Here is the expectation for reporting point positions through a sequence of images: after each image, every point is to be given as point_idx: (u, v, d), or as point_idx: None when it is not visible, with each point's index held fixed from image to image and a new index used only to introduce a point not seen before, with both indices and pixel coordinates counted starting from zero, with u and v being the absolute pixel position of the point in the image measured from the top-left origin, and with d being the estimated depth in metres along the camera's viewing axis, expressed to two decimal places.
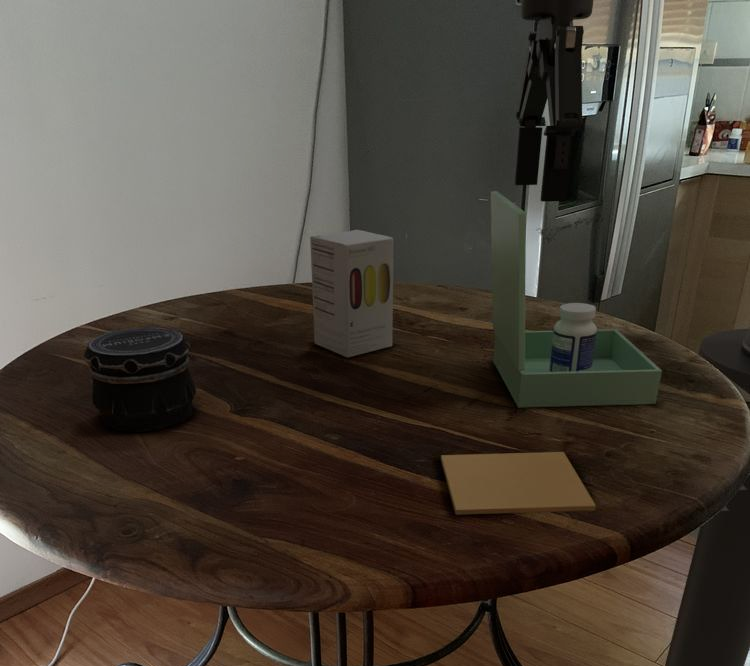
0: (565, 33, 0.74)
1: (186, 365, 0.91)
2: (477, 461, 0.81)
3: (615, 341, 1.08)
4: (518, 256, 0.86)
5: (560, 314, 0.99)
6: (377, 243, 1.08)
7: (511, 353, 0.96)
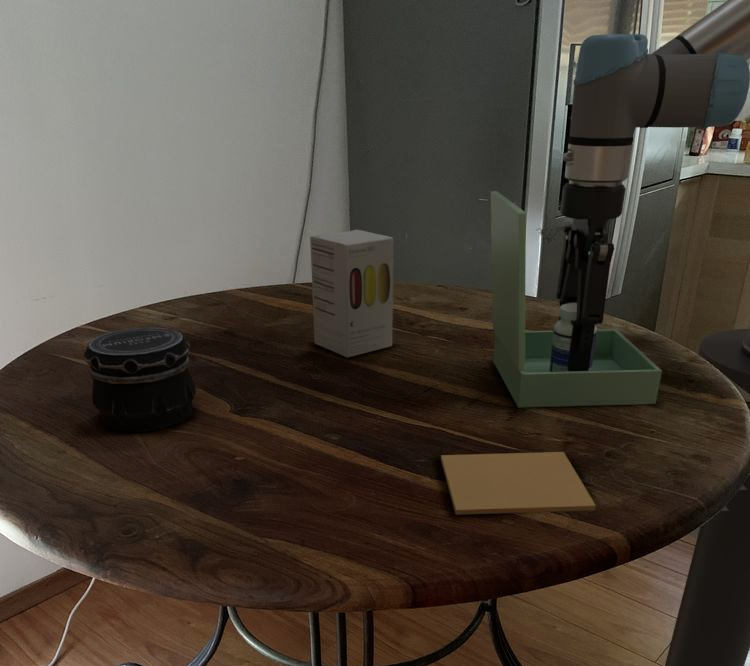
0: (598, 252, 0.88)
1: (186, 365, 0.91)
2: (477, 461, 0.81)
3: (615, 341, 1.08)
4: (518, 256, 0.86)
5: (560, 314, 0.99)
6: (377, 243, 1.08)
7: (511, 353, 0.96)
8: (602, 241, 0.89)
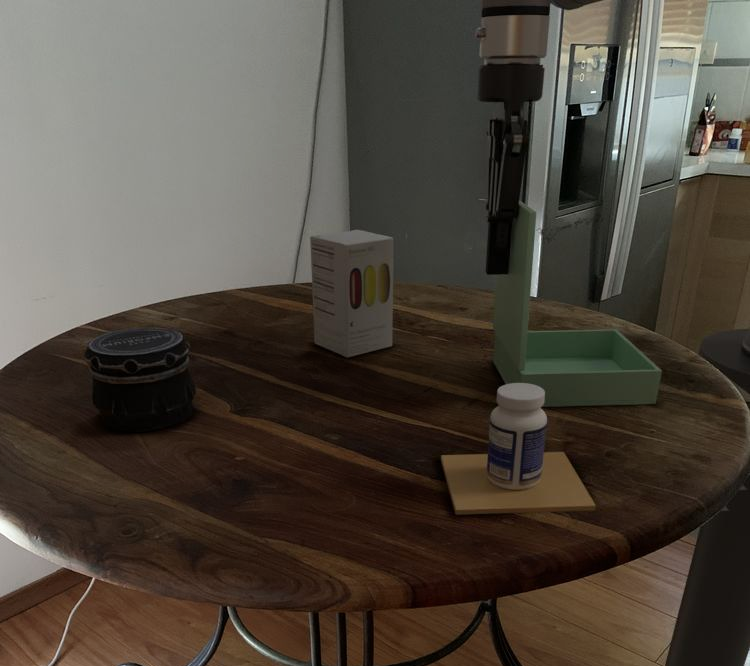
0: (512, 144, 0.82)
1: (186, 365, 0.91)
2: (477, 461, 0.81)
3: (615, 341, 1.08)
4: (526, 255, 0.86)
5: (497, 400, 0.73)
6: (377, 243, 1.08)
7: (511, 353, 0.96)
8: (517, 130, 0.83)
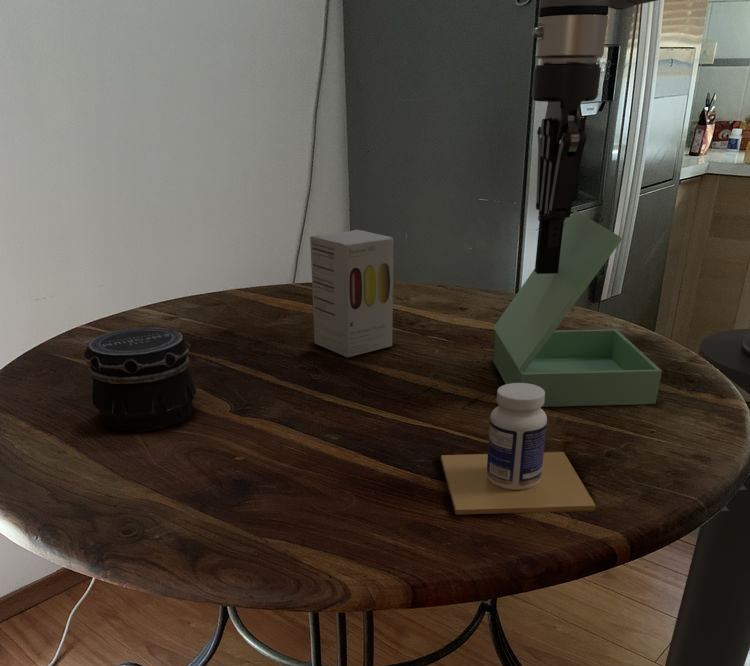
0: (569, 143, 0.83)
1: (186, 365, 0.91)
2: (477, 461, 0.81)
3: (615, 341, 1.08)
4: (590, 271, 0.88)
5: (497, 400, 0.73)
6: (377, 243, 1.08)
7: (516, 352, 0.96)
8: (574, 129, 0.83)
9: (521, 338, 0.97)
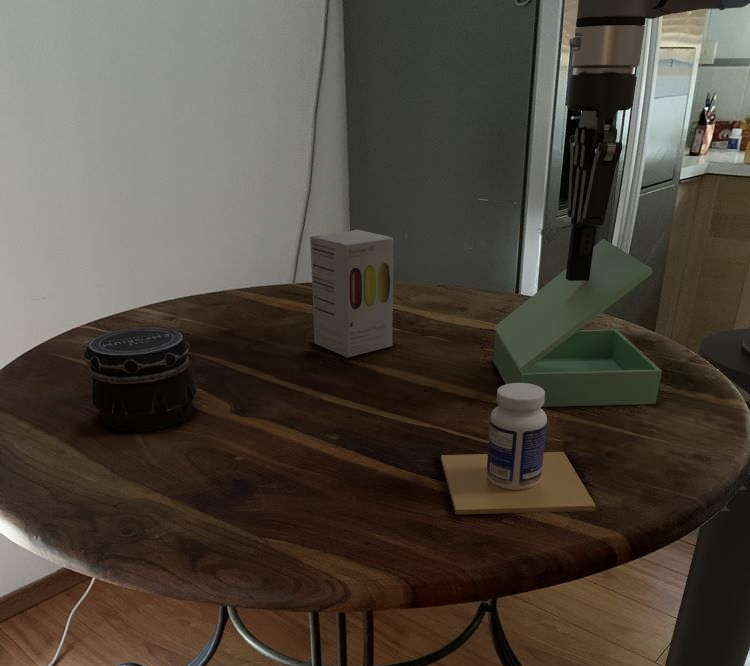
0: (605, 152, 0.83)
1: (186, 365, 0.91)
2: (477, 461, 0.81)
3: (615, 341, 1.08)
4: (614, 294, 0.89)
5: (497, 400, 0.73)
6: (377, 243, 1.08)
7: (518, 353, 0.96)
8: (610, 138, 0.83)
9: (526, 341, 0.97)
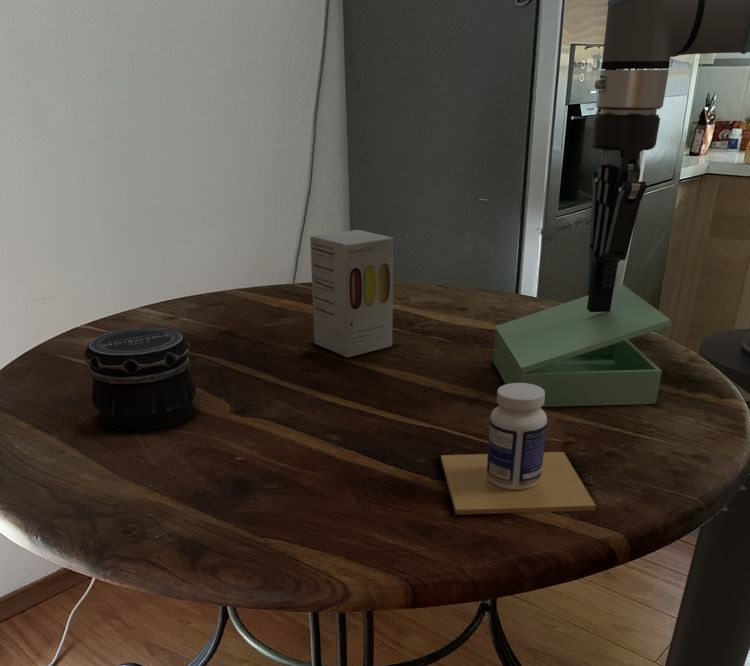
0: (629, 191, 0.85)
1: (186, 365, 0.91)
2: (477, 461, 0.81)
3: None
4: (630, 331, 0.91)
5: (497, 400, 0.73)
6: (377, 243, 1.08)
7: (520, 354, 0.97)
8: (634, 178, 0.86)
9: (530, 347, 0.98)
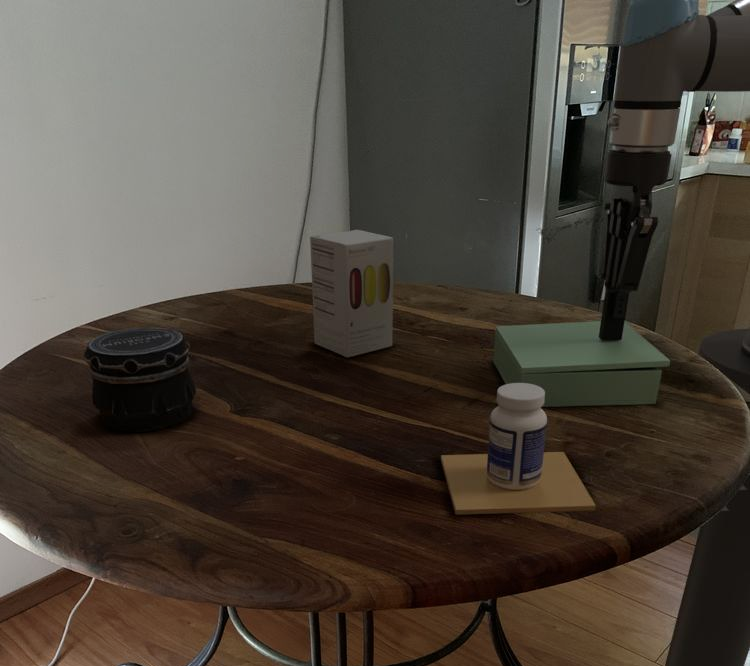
0: (641, 227, 0.88)
1: (186, 365, 0.91)
2: (477, 461, 0.81)
3: None
4: (631, 361, 0.94)
5: (497, 400, 0.73)
6: (377, 243, 1.08)
7: (521, 356, 0.97)
8: (647, 213, 0.88)
9: (531, 352, 0.98)
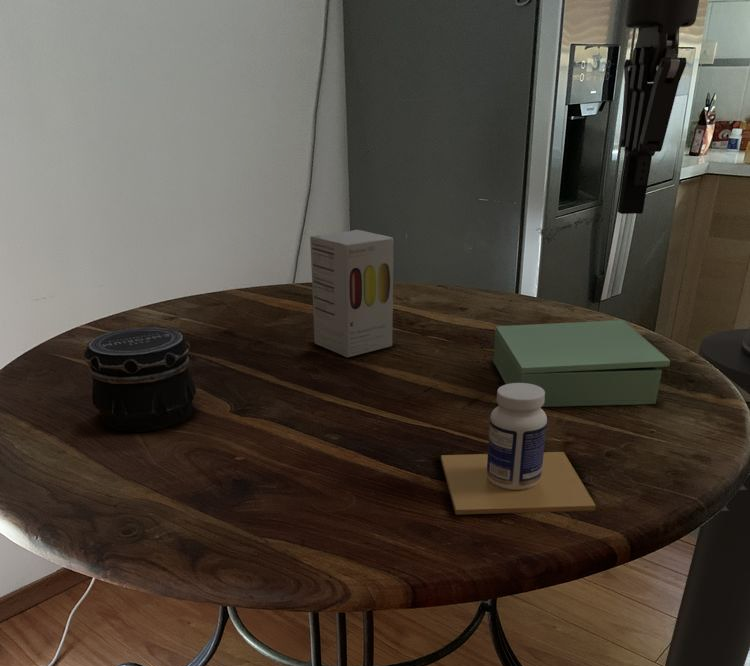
0: (668, 68, 0.79)
1: (186, 365, 0.91)
2: (477, 461, 0.81)
3: None
4: (631, 361, 0.94)
5: (497, 400, 0.73)
6: (377, 243, 1.08)
7: (521, 356, 0.97)
8: (673, 54, 0.79)
9: (531, 352, 0.98)
